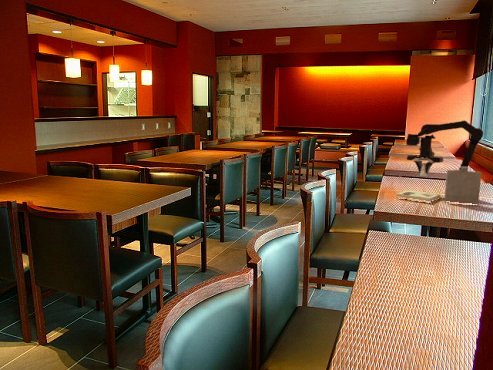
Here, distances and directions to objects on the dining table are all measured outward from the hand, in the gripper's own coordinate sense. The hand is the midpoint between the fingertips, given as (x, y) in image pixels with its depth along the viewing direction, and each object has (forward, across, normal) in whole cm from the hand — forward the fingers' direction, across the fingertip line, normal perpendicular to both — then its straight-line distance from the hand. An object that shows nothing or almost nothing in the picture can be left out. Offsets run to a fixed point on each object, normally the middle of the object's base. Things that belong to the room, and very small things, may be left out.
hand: (423, 173), depth 243 cm
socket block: (+12, -4, +15) cm, 20 cm away
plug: (+2, 0, 0) cm, 2 cm away
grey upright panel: (+13, -25, +11) cm, 30 cm away
